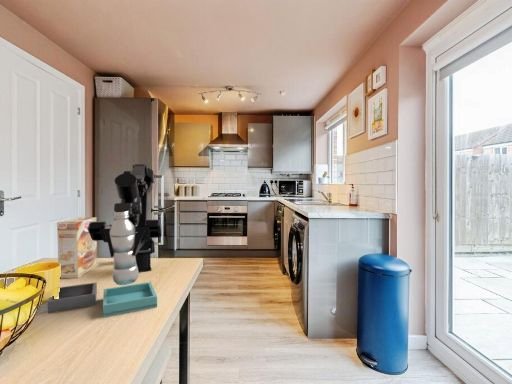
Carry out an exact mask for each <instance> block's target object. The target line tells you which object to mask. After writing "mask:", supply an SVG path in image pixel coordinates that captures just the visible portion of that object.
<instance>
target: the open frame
mask: <svg viewBox="0 0 512 384" xmlns="http://www.w3.org/2000/svg"><path fill="white" fill-rule="evenodd" d="M97 294H98V282H97V281H96V282H89V283H83V284H75V285H74V284H73V285H68V286H67V285H66V286H61V287H60V292H59V299H54V296H52V297H50V296H49V297H50V298H48V300H47V301H46V302H47V304H46V305H47V314H52V313H58V312H63V311H70V310H76V309H77V310H78V309H82V308H87V307H88V308H89V307H93V306H96V304H97V296H98V295H97Z"/></svg>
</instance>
